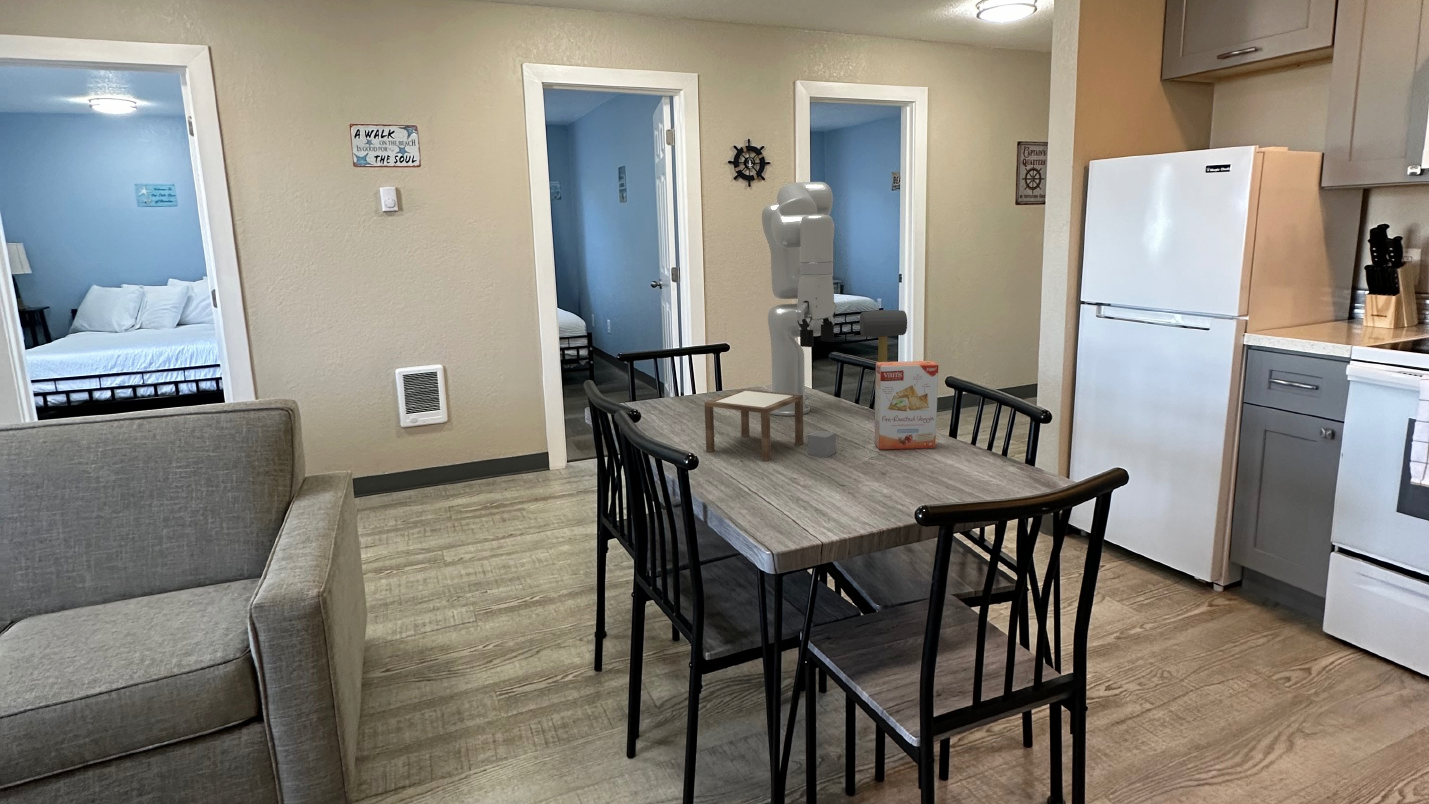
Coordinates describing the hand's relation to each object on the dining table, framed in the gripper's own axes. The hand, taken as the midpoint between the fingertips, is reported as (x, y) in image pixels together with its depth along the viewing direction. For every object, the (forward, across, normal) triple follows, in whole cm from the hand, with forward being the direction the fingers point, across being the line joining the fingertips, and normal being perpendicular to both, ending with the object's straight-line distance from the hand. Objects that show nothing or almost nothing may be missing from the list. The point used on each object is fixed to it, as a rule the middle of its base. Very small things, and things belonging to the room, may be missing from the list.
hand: (817, 343), depth 190 cm
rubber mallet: (+27, -44, -3) cm, 51 cm away
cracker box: (+27, -16, +15) cm, 35 cm away
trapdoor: (+15, +3, -16) cm, 22 cm away
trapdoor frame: (+27, +3, -16) cm, 31 cm away
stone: (+27, 0, +1) cm, 27 cm away
